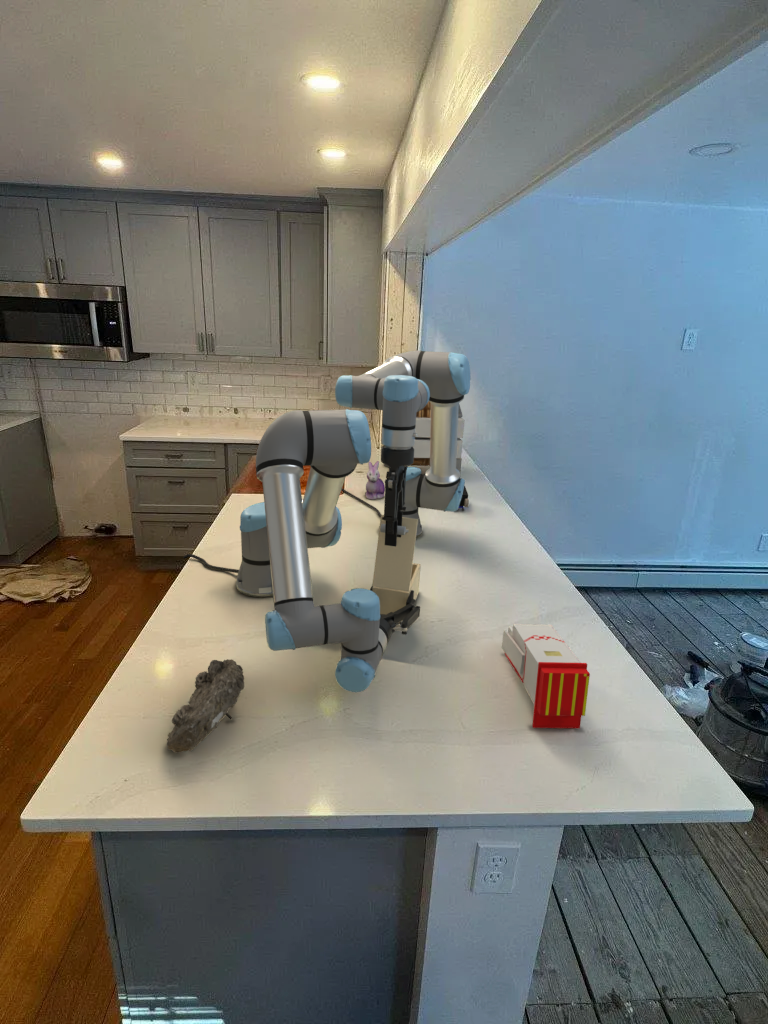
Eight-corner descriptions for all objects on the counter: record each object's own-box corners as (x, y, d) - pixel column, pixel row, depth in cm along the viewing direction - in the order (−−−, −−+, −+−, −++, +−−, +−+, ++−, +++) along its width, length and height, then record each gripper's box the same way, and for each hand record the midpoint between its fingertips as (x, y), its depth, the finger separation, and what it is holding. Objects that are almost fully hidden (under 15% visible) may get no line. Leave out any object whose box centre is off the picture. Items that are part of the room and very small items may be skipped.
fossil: (192, 660, 117) (244, 628, 112) (224, 691, 120) (276, 661, 115) (142, 746, 98) (202, 712, 93) (182, 779, 101) (242, 748, 96)
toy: (548, 608, 134) (599, 669, 104) (543, 661, 136) (591, 735, 107) (497, 607, 133) (533, 668, 104) (493, 660, 136) (527, 734, 107)
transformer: (382, 463, 289) (386, 382, 275) (445, 464, 293) (451, 384, 279) (390, 482, 257) (394, 392, 243) (460, 483, 261) (468, 394, 247)
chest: (386, 587, 161) (387, 559, 158) (418, 592, 159) (420, 564, 156) (371, 618, 145) (372, 587, 142) (407, 623, 143) (408, 593, 140)
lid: (381, 514, 143) (374, 513, 135) (418, 519, 141) (413, 518, 133) (372, 585, 142) (365, 588, 134) (409, 591, 140) (404, 594, 132)
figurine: (370, 501, 232) (371, 465, 226) (359, 493, 240) (360, 459, 235) (390, 498, 236) (392, 463, 231) (379, 491, 244) (380, 457, 239)
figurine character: (468, 516, 224) (463, 500, 237) (471, 498, 221) (465, 483, 234) (452, 515, 224) (447, 499, 237) (453, 498, 220) (449, 482, 234)
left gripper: (323, 644, 128) (351, 599, 148) (419, 661, 123) (434, 611, 144) (323, 615, 125) (351, 573, 146) (421, 631, 121) (436, 585, 141)
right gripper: (406, 457, 119) (400, 557, 127) (420, 439, 136) (415, 529, 144) (371, 453, 121) (368, 553, 129) (390, 436, 137) (386, 525, 145)
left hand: (392, 592), depth 145 cm, fingers closed on chest, 9 cm apart
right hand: (393, 540), depth 136 cm, fingers open, 5 cm apart
